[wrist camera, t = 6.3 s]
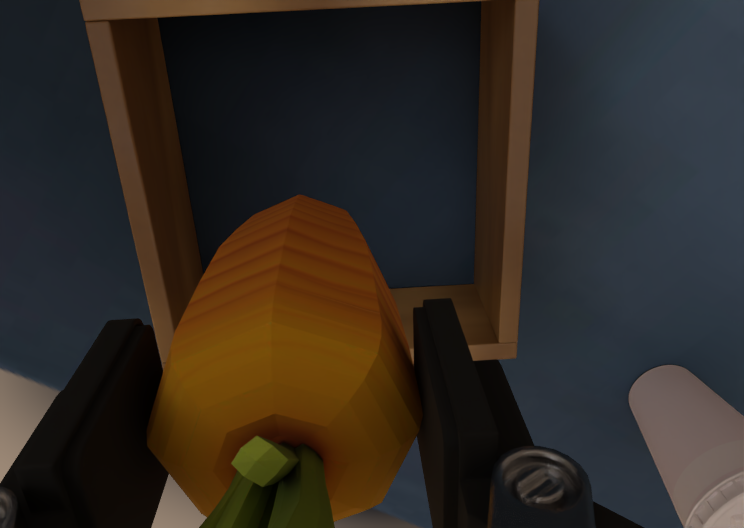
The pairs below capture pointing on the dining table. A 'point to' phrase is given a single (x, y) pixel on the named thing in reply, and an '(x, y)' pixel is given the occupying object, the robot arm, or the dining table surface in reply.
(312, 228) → the carrot
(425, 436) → the robot arm
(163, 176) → the wooden frame
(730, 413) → the smoothie
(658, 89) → the dining table surface
